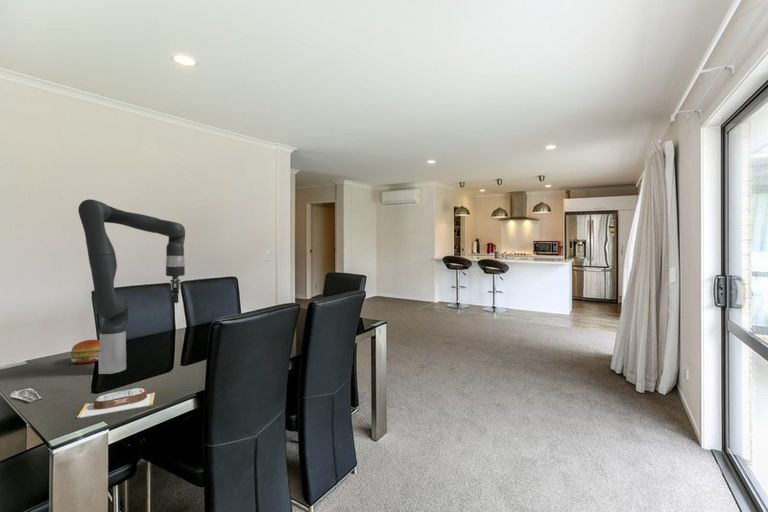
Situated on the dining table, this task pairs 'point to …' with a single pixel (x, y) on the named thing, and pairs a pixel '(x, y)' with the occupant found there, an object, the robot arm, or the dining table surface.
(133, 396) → the tin
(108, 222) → the robot arm
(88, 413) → the mat
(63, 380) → the dining table surface
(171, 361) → the dining table surface
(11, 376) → the dining table surface
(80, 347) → the burger
